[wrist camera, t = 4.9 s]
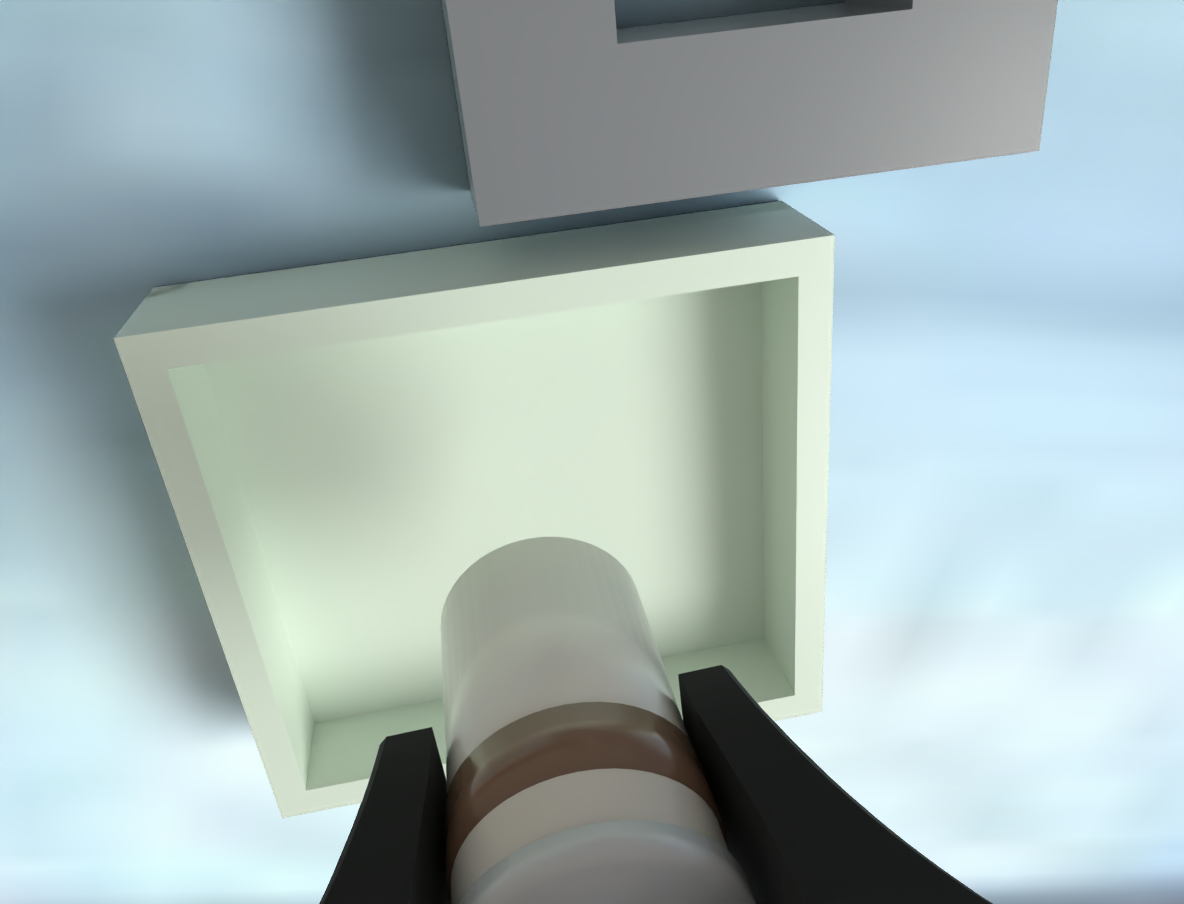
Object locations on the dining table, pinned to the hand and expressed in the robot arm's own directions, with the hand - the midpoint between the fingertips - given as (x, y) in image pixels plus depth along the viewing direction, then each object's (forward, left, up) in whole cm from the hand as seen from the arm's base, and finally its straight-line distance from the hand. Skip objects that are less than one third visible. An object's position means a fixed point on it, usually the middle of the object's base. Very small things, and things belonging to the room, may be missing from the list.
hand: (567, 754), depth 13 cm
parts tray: (0, 0, -7) cm, 7 cm away
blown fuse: (0, 0, -3) cm, 3 cm away
